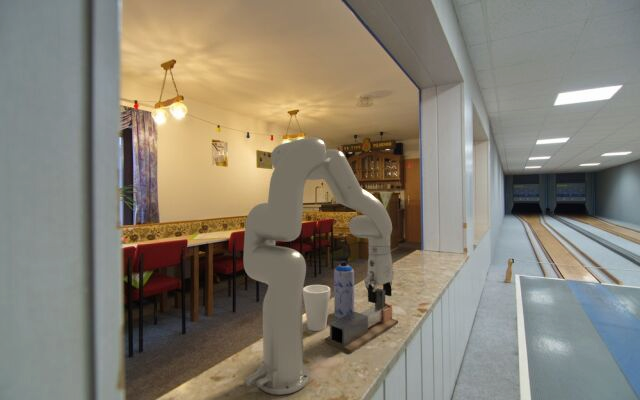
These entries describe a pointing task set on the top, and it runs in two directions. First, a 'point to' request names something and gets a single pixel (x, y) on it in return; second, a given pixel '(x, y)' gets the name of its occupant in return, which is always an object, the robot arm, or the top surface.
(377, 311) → the square sliding rod
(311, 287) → the foam cup
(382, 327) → the track board
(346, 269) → the aerosol can
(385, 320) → the socket block
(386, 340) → the top surface
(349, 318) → the outer sleeve
